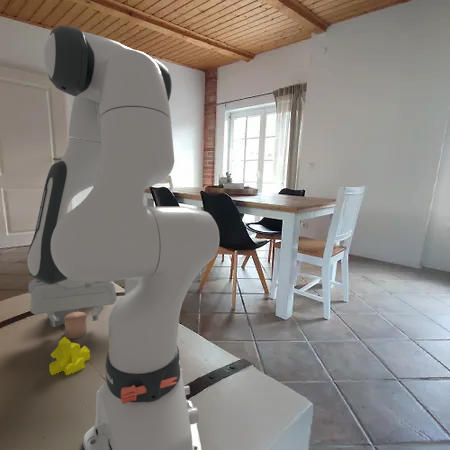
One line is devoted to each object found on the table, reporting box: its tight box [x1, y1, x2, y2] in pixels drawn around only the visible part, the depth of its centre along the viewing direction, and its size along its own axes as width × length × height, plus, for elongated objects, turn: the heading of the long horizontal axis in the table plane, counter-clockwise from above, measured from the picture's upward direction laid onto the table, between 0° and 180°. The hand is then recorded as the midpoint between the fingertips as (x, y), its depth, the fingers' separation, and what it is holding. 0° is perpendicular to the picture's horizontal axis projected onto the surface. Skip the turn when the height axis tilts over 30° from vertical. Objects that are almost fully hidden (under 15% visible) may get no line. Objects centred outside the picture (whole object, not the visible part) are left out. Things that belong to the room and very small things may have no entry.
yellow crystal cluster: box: [48, 335, 91, 376], centre depth 63 cm, size 6×8×8 cm
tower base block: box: [49, 309, 79, 327], centre depth 83 cm, size 7×7×5 cm
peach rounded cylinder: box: [64, 311, 88, 340], centre depth 76 cm, size 5×5×5 cm
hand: (76, 322), depth 77 cm, fingers open, 8 cm apart
